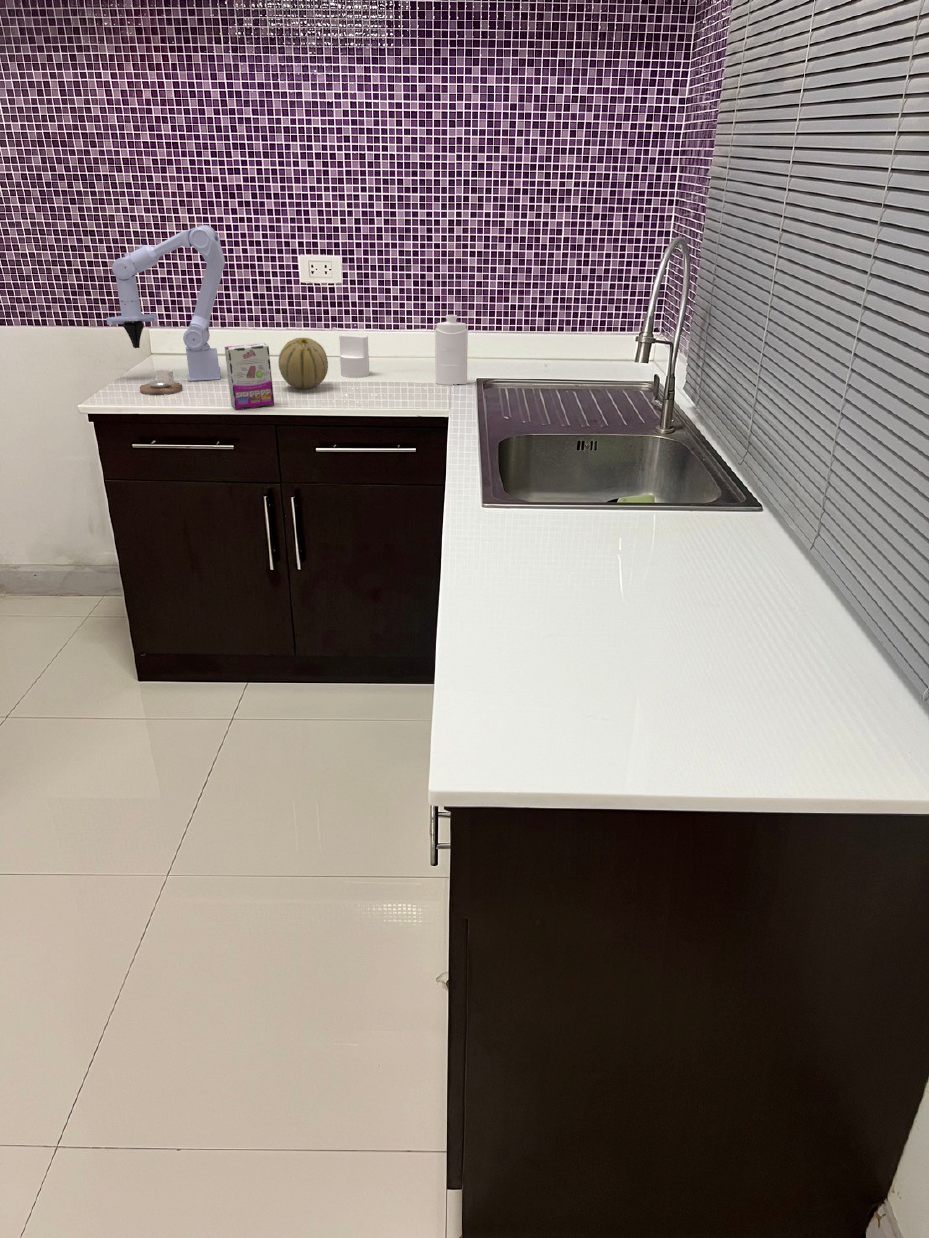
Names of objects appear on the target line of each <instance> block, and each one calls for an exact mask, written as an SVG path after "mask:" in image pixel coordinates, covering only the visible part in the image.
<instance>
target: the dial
mask: <svg viewBox="0 0 929 1238" xmlns="http://www.w3.org/2000/svg"><path fill="white" fill-rule="evenodd" d="M156 377H157V378H156V380H151V381H150V382H149V383H150V387H152V388H165V387H170V386H171V384H174V382H175V378H174V371H173V370H166V369H157V370H156Z"/></svg>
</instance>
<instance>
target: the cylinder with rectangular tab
mask: <svg viewBox="0 0 929 1238" xmlns="http://www.w3.org/2000/svg"><path fill="white" fill-rule="evenodd" d="M339 351H340V352H339V362H340V376H341V377H344V378H347V379H348V378H350V379H351V378H352V379H354V378H355V379H358V378H359V379H360V378H366V377H369V376H370V374H371V373H370V355H369V336H368V335H360V334H359V335H358V334H348V333H347V334H346V333H342V334H339Z"/></svg>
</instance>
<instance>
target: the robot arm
mask: <svg viewBox="0 0 929 1238" xmlns="http://www.w3.org/2000/svg"><path fill="white" fill-rule="evenodd" d="M182 247H184V248H192V247H193V248H194V249H195V250H196V251H197V252H199V254H201V257H202V258H203V260H204V261H205V263H206V266H205V270H204V275H203V278H202V281H201V282H202V283H201V286H200V289H199V292H198V296H197V301H196V305H195V307H194V308H195V309H194V312H193V315H192V318H191V320H190V323H189V327H188V329H187V330H185V332H184V334H183V339H182V340H183V342H184V345H185V355H186V360H187V368H188V369H187V370H188V374H187V380H188V382H190V381H191V382H192V381H193V382H194V381H195V382H196V381H209V380H210V381H213V380H214V381H215V380H220V379H221V374H220V373H221V367H220V364H219V355H218V349H217V348H216V347H215V348H214V347H213V348H211V346H210V344H209V343H208V342H209V340H210V336H211V335H210V330H209V329H210V325H211V324H210V323H211V317H212V312H213V309H214V305H215V301H216V299H217V298H216V297H217V294H218V290H219V286H220V283H221V280H222V275H223V271H224V268H225V263H226V259H225V255H224V252H223V248H222V245H221V239H220V236H219V235H218V233H217V232H216V230H215V229H214V228H213V227H211V225H208V224H202V225H199V226H196V227H193V228H190V229H186V230H184V231H181V232H178V233H176V234H175V235H173V236H171V237H170V238H167V239H166V240H163V241H162V242H160V243H158V244H156V245H155V246H151V245H149V244H145V245H143V244H140V245H138V249H136V250H134V251H132V252H129V253H128V252H126V253H125V254H124V257H120V258H117V259H115V261H114V262H113V263H112V266H111V270H112V273H113V275H114V276H115V279H116V287H117V294H118V295H117V296H118V301H119V307H120V315H118V316H111V317H106V318H105V319H106V324H107V326H113V325H121V326H122V327H123V328H124V330H125V331H126V333H127V335H128V337H129V339H130V342H131V344H132V347H133V349H140V346H141V345H140V343H141V336H142V333H143V329H144V327H145V322H146V323H147V322H158V316H157V314H156V313H146V314H145V313H144V314H143V313H142V309H141V302H140V294H139V287H138V284H137V278H136V275H137V274H140V273H142V272H144V271H146V270H148V269H150V268H152V267H154V266H156V265H158V264H159V261H160V258H161V257H163V256H164V255H167V254H170V253H171V252H173V251H175V250H177V249H179V248H182Z"/></svg>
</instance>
